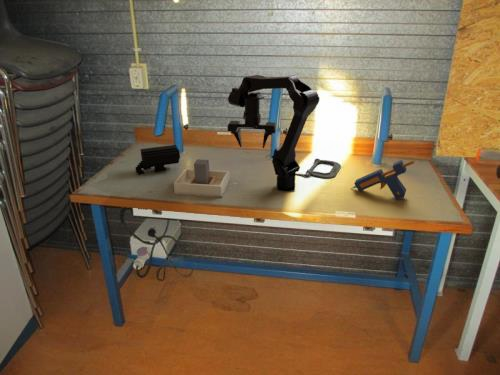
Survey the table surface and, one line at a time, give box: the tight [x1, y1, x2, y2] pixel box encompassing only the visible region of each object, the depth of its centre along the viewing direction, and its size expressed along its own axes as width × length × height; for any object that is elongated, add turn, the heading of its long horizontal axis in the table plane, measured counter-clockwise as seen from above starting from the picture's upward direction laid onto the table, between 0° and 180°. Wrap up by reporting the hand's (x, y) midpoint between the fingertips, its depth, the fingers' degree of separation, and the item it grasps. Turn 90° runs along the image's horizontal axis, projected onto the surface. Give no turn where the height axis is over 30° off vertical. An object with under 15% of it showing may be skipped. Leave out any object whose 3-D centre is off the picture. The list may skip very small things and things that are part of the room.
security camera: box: [135, 144, 181, 176], centre depth 167 cm, size 7×18×10 cm, turn 110°
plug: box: [193, 158, 210, 184], centre depth 151 cm, size 4×4×10 cm
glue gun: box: [350, 160, 415, 201], centre depth 146 cm, size 5×25×12 cm
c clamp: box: [295, 158, 342, 180], centre depth 169 cm, size 20×17×3 cm
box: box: [173, 168, 230, 198], centre depth 153 cm, size 18×14×4 cm
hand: (252, 147), depth 159 cm, fingers open, 9 cm apart
